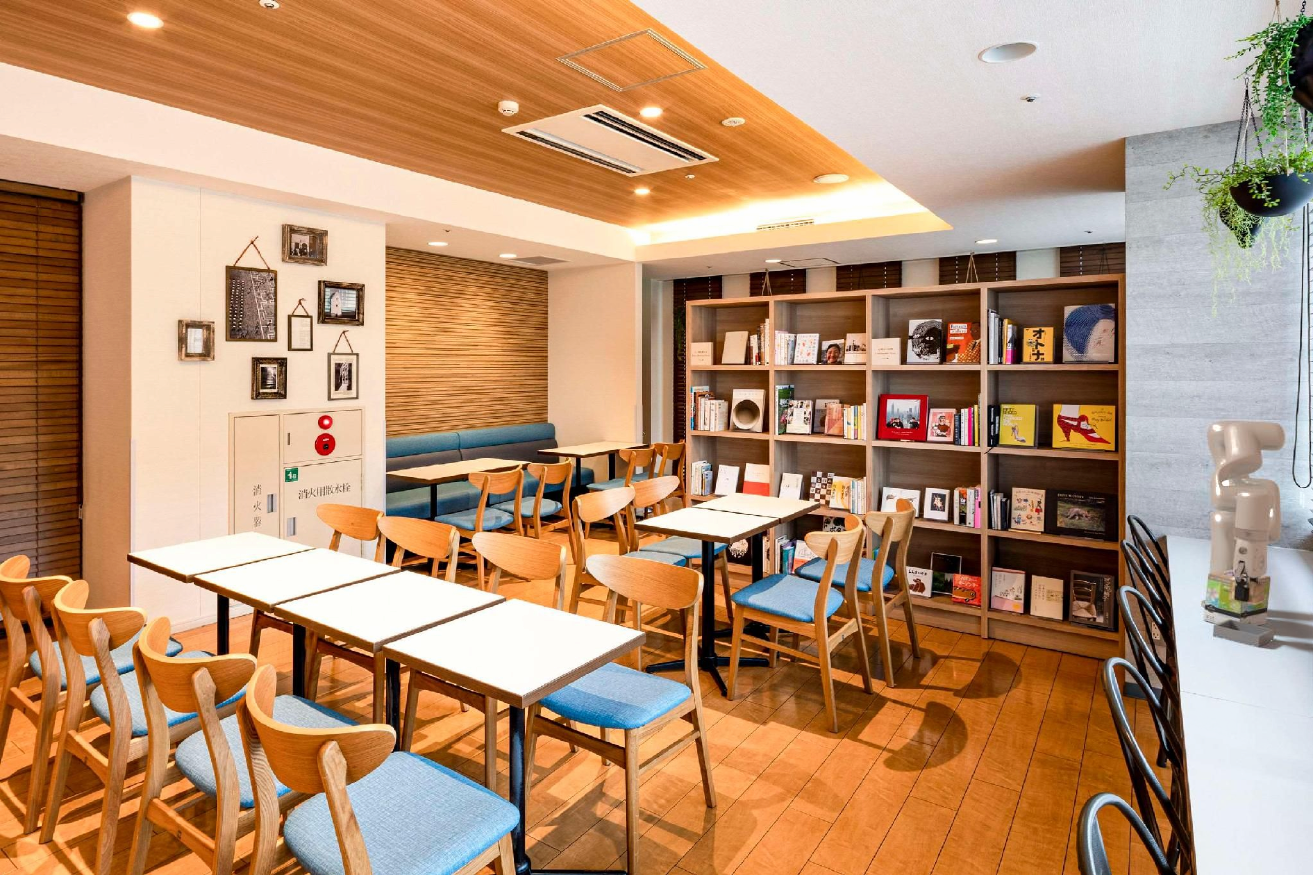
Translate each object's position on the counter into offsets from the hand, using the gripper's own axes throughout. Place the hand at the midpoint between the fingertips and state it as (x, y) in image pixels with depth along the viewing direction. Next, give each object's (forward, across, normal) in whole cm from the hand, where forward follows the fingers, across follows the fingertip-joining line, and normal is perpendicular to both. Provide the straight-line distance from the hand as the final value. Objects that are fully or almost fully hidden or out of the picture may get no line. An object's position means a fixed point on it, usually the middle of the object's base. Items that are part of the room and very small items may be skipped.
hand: (1246, 598), depth 212 cm
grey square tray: (+11, 0, 0) cm, 11 cm away
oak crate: (+1, 0, 0) cm, 1 cm away
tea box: (+11, +15, +7) cm, 20 cm away
